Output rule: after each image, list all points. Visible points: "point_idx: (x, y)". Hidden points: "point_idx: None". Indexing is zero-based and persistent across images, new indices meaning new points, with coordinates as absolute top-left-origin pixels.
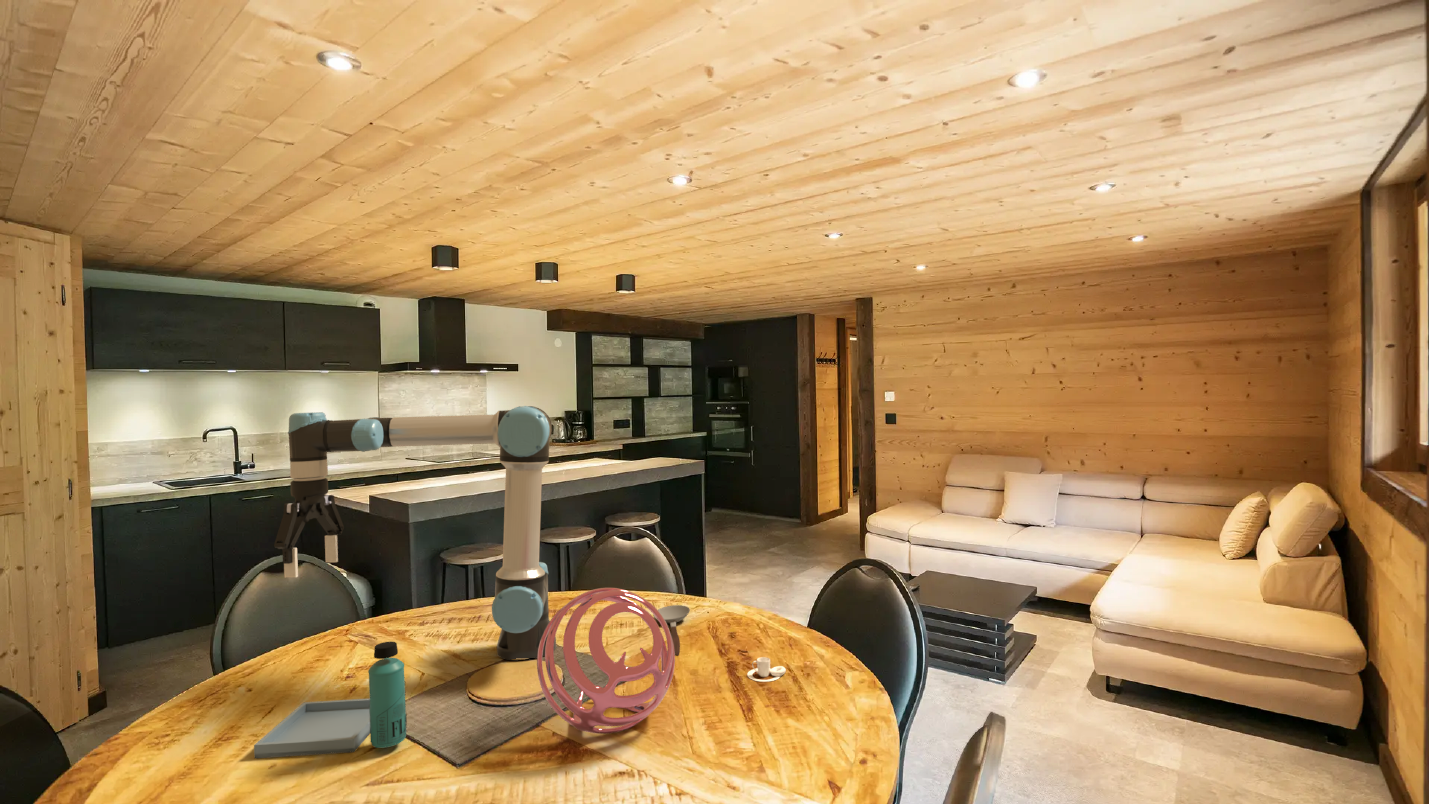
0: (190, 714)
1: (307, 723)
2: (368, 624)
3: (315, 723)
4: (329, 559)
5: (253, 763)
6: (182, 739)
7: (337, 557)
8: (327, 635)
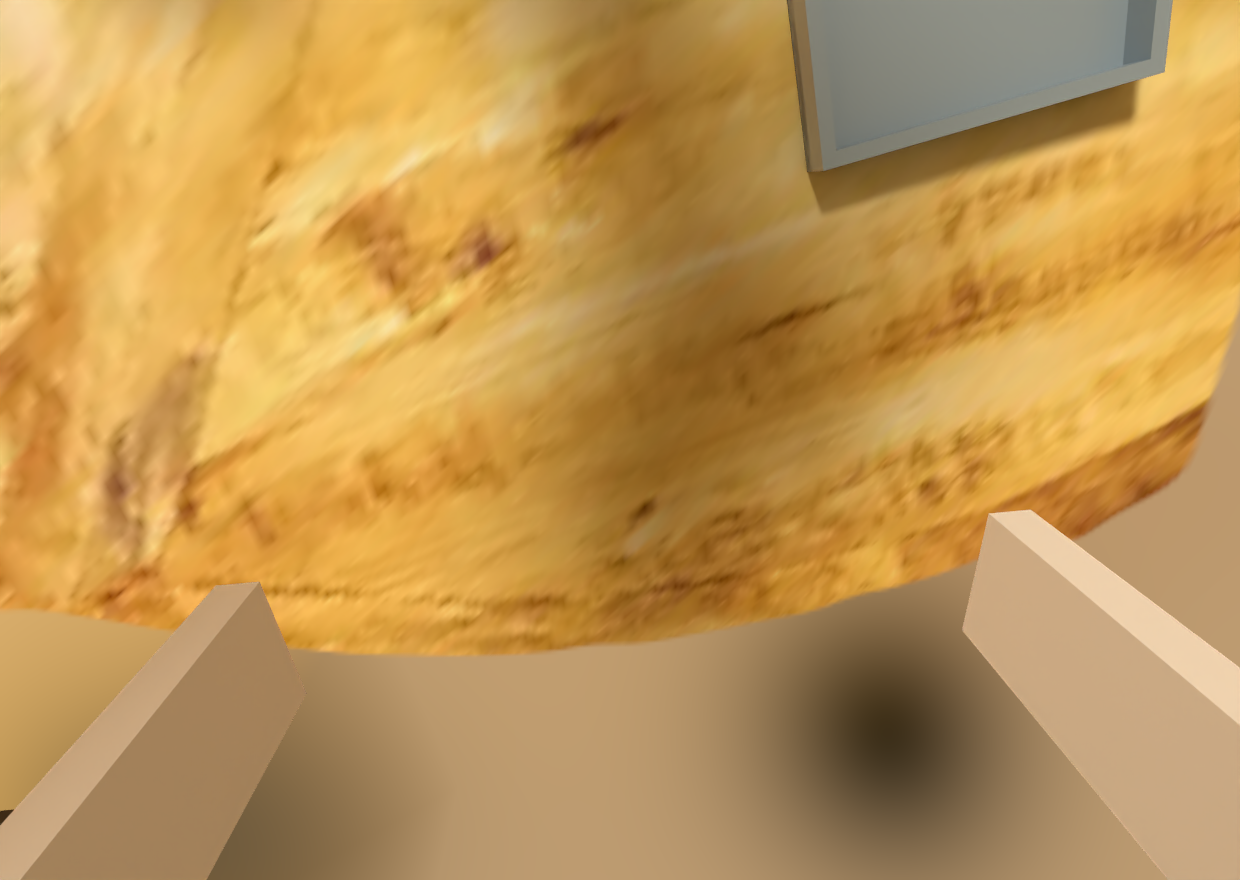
0: (808, 533)
1: (923, 58)
2: (20, 568)
3: (926, 20)
4: (268, 686)
5: None
6: (958, 424)
7: (184, 629)
8: None
